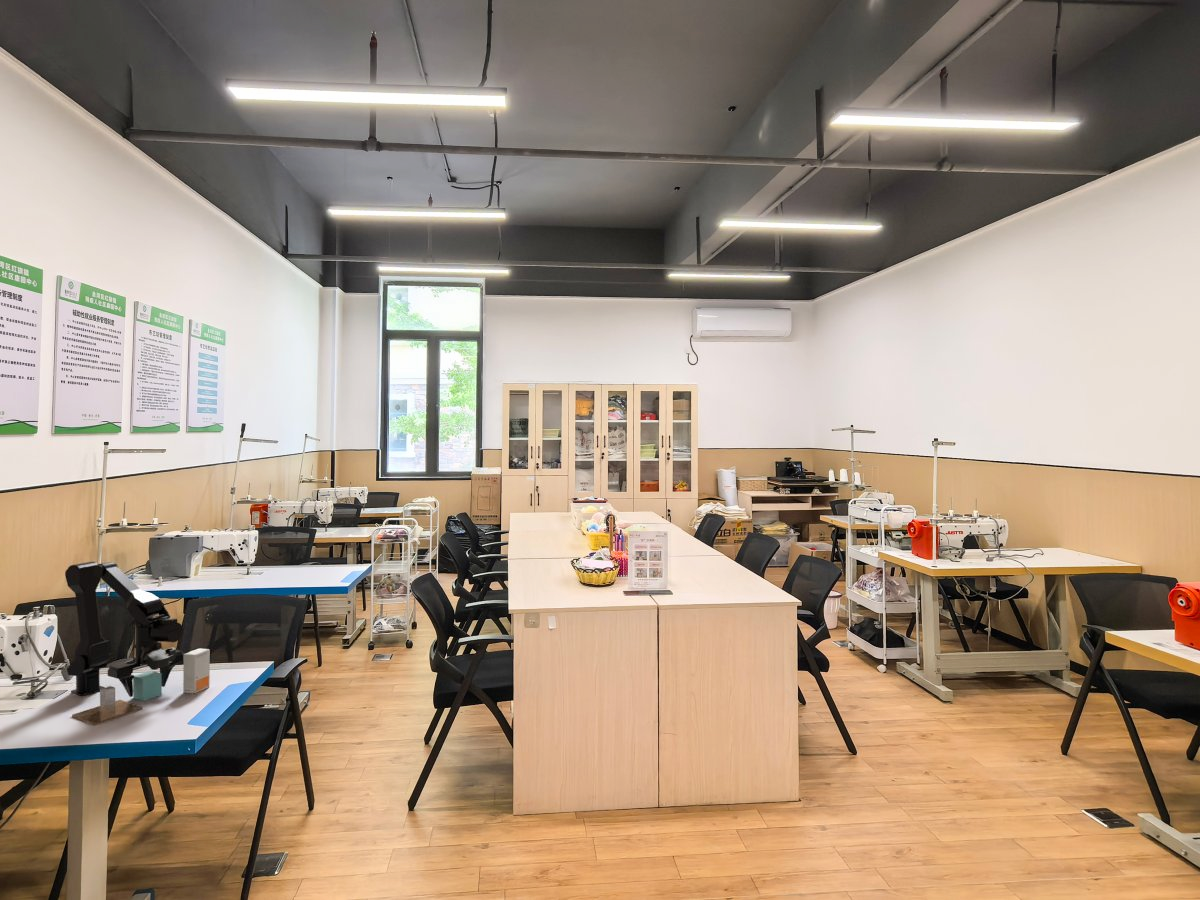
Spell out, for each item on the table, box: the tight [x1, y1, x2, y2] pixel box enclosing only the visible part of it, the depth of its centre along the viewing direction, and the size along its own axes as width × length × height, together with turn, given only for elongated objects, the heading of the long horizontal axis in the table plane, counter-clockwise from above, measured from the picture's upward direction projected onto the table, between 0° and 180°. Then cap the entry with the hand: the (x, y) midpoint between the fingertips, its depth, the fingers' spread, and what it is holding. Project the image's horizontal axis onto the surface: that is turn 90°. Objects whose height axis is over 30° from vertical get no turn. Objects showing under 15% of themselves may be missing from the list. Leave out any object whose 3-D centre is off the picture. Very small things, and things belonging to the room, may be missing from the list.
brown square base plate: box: [71, 685, 144, 726], centre depth 184 cm, size 12×12×7 cm
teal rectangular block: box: [132, 670, 163, 702], centre depth 196 cm, size 5×5×7 cm
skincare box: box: [182, 647, 211, 694], centre depth 201 cm, size 6×4×12 cm
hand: (147, 691), depth 196 cm, fingers open, 9 cm apart
